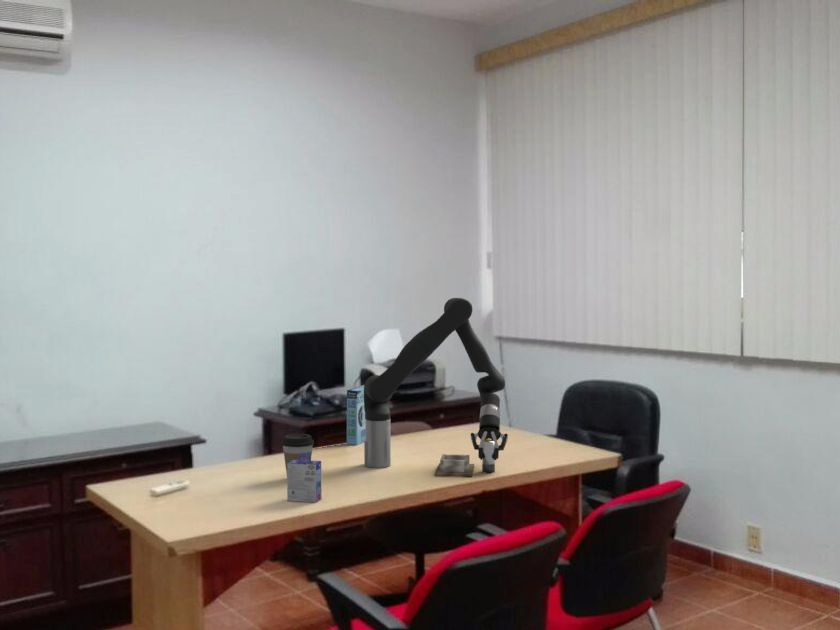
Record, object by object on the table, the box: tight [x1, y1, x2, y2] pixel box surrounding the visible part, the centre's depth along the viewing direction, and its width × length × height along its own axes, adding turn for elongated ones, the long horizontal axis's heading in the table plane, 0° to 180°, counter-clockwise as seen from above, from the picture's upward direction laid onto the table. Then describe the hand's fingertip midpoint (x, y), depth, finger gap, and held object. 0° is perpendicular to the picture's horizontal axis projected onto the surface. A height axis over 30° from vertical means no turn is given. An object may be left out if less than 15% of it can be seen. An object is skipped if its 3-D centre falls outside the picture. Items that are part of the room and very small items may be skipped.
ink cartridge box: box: [286, 453, 322, 503], centre depth 270 cm, size 10×6×14 cm, turn 78°
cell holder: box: [434, 453, 475, 478], centre depth 308 cm, size 13×16×5 cm
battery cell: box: [481, 439, 496, 474], centre depth 308 cm, size 4×4×12 cm
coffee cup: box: [281, 433, 315, 474], centre depth 297 cm, size 11×11×15 cm
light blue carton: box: [346, 383, 366, 446], centre depth 364 cm, size 20×5×23 cm, turn 161°
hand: (488, 458), depth 306 cm, fingers closed on battery cell, 4 cm apart
